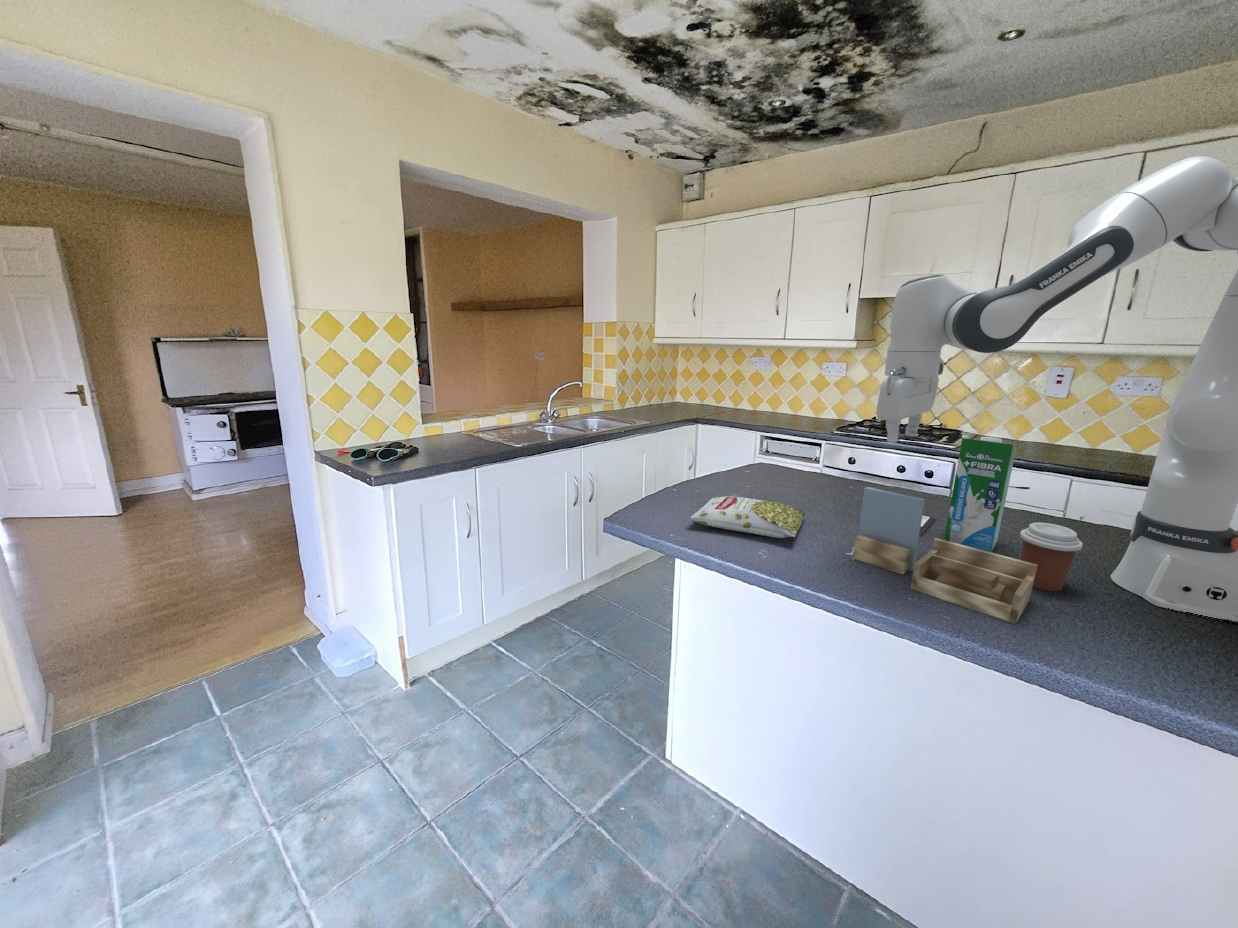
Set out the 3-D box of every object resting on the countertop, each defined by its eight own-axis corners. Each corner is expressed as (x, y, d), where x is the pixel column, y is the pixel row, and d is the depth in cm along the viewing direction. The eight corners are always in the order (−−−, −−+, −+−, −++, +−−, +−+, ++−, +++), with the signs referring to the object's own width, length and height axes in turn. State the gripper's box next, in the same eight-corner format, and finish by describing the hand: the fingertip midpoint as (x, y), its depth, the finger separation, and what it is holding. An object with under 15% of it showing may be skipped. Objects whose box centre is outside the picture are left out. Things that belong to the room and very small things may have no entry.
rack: (1028, 605, 91) (1037, 564, 89) (1014, 628, 84) (1024, 585, 82) (929, 574, 103) (935, 537, 101) (909, 593, 95) (916, 553, 93)
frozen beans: (796, 524, 113) (688, 507, 124) (793, 549, 114) (687, 529, 125) (807, 500, 131) (713, 487, 142) (805, 522, 132) (711, 507, 143)
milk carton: (996, 542, 119) (1018, 437, 112) (990, 554, 112) (1013, 443, 106) (951, 532, 125) (970, 431, 118) (943, 542, 118) (962, 437, 112)
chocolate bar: (877, 528, 125) (897, 510, 138) (877, 532, 125) (897, 513, 138) (918, 538, 119) (935, 518, 132) (918, 542, 119) (935, 521, 132)
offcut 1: (997, 583, 90) (999, 574, 89) (990, 590, 87) (992, 581, 87) (946, 567, 95) (948, 558, 95) (938, 574, 93) (940, 565, 93)
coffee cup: (1006, 572, 104) (1018, 517, 101) (1064, 583, 99) (1078, 525, 96) (1013, 591, 96) (1026, 532, 93) (1075, 604, 92) (1091, 542, 89)
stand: (914, 568, 105) (919, 542, 104) (902, 578, 101) (906, 551, 99) (865, 553, 113) (868, 528, 111) (851, 562, 108) (855, 537, 106)
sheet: (913, 569, 103) (925, 499, 99) (910, 571, 102) (922, 500, 98) (858, 552, 111) (867, 486, 107) (855, 554, 110) (864, 488, 106)
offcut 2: (1003, 594, 89) (1005, 585, 89) (999, 602, 87) (1001, 593, 86) (945, 577, 96) (946, 568, 95) (939, 584, 93) (940, 575, 92)
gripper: (909, 370, 87) (899, 448, 91) (947, 365, 101) (936, 433, 104) (871, 368, 92) (863, 443, 95) (912, 364, 105) (903, 429, 109)
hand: (902, 438), depth 100 cm, fingers open, 8 cm apart
